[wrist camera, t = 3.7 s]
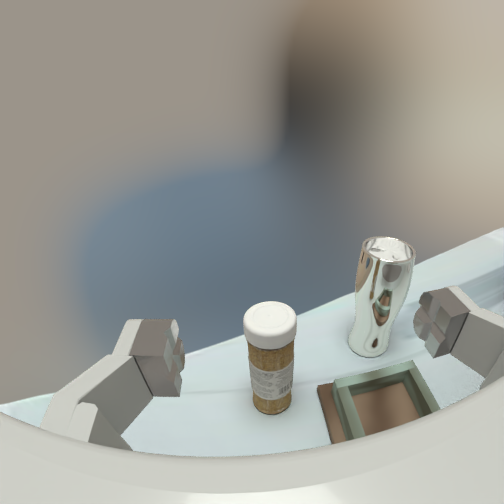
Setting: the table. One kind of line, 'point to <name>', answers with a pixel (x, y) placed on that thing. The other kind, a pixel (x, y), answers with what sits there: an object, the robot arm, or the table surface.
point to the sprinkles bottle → (271, 354)
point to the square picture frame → (375, 401)
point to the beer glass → (379, 292)
